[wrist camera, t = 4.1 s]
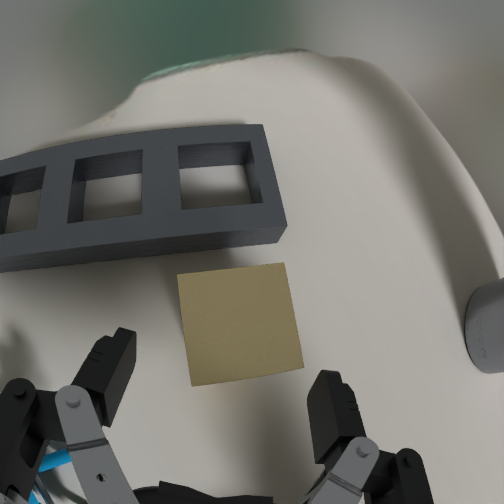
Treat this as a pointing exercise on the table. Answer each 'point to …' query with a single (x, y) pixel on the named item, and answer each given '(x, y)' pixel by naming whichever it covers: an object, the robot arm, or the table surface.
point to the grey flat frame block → (153, 197)
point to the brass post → (238, 323)
